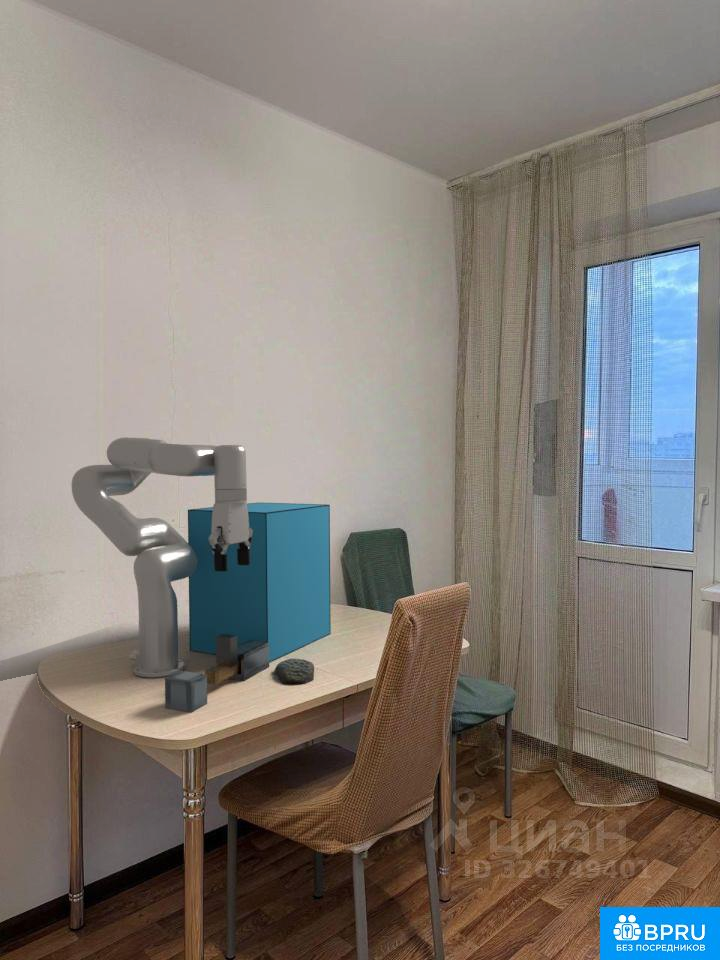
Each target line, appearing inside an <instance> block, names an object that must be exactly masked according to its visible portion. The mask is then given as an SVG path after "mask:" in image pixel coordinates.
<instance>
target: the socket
mask: <svg viewBox="0 0 720 960" xmlns="http://www.w3.org/2000/svg"><path fill="white" fill-rule="evenodd" d="M164 699H165V700H164V701H165V702H164V703H165V705H164V708H165V709H171V710H175V711H182V712H186V713H187V712H188V713H193V712H195V711H197V710H198V709H201V708H202V707H204V706H206V705H207V704H208V684H207V674H205V673H199V672H191V671H185V670H182V671H179V672H177V673H175V674H173V675H169V676H165V678H164Z"/></svg>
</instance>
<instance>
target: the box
mask: <svg viewBox="0 0 720 960" xmlns="http://www.w3.org/2000/svg"><path fill="white" fill-rule="evenodd" d="M247 509H248V517H249V527H250V528H251V529H252V530H253V533H252V537H251V538H252V541H251V543H250V545H251V547H250V549H249V552H250V564H249V565H238V563H237V549H238V548H239V547H238V545H237V544H233V545H228V547H227V550H226V552H225V554H227V571H225V572H224V571H215V565H214V554H213V550H212V549H211V544H210V542H209V536H210V535H211V528H212V512H213V506H212V507H211V506H210V507H200V508H193V509H187V530H188V531H187V543H188V544H189V545H190V546H191V547H192V548H193V550H194V551H195V553H196V556H197V560H198V565H197V569H196V571H195V572H194V573H193V574H192V575H191V576H189V577H188V615H189V618H188V619H189V621H188V622H189V626H188V628H189V629H188V630H189V651H190V652H194V653H200V654H207V655H213V656H216V637H217V636H219V635H221V634H230V635H237V646H238V645H241V644H243V643H245V642H247V641H249V640H256V641H265V642H269V664H270V663H272V662H274V661H277V660H278V659H281V658H283V657H285V656H287V655H290V654H291V653H293V652H296V651H297V650H300V649H302V648H304V647H306V646H309V645H310V644H313V643H315V642H317V641H319V640H321V639H323V638H326V637H327V636H329V635H331V634H332V633H331V632H332V631H331V626H332V625H331V537H330V536H331V528H330V527H331V526H330V525H331V523H330V521H331V519H330V518H331V517H330V516H331V515H330V514H331V509H330V504H323V503H322V504H321V503H319V504H317V503H313V504H312V503H290V502H289V503H286V502H285V503H283V502H282V503H281V502H250V503H247ZM222 547H223V546H221V548H222ZM239 549H240V548H239Z"/></svg>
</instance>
